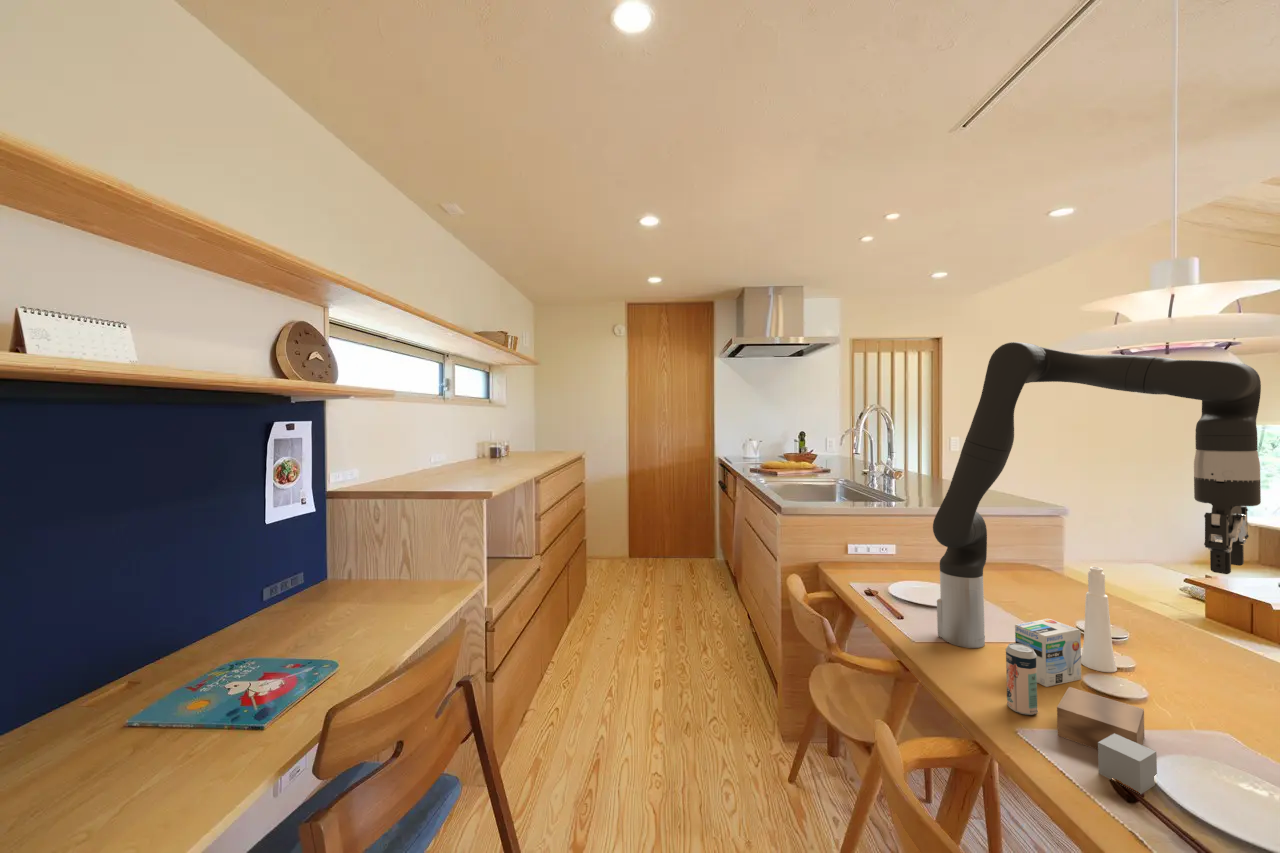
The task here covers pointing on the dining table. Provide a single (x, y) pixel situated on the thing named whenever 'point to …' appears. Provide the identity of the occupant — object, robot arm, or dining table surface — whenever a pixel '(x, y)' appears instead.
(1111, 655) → the cosmetic bottle
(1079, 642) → the light bulb box
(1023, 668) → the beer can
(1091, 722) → the walnut block
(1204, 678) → the dining table surface
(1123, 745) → the slate block
